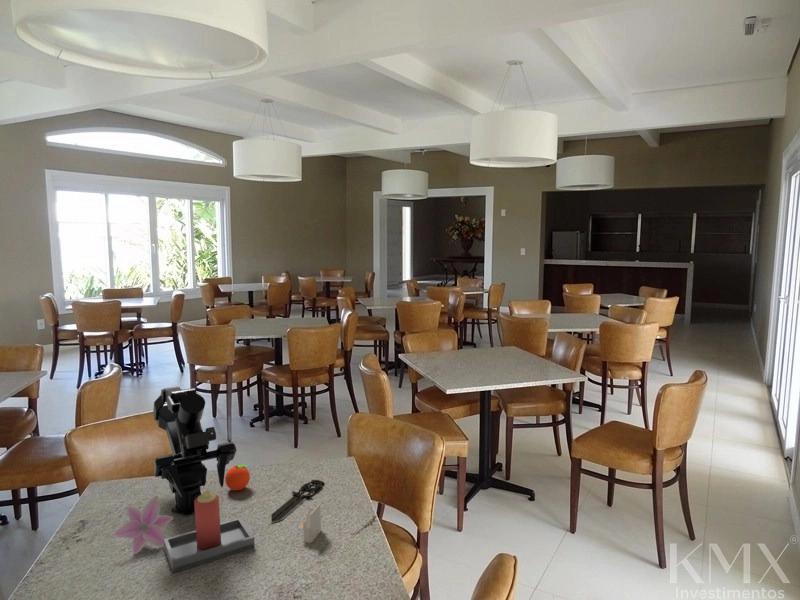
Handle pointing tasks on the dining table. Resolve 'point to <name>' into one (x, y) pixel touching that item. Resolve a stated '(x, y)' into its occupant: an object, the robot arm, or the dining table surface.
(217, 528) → the pepper mill
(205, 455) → the robot arm
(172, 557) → the tray
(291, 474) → the dining table surface
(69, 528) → the dining table surface
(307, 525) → the architectural model
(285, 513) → the knife
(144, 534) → the lily
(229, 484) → the clementine
